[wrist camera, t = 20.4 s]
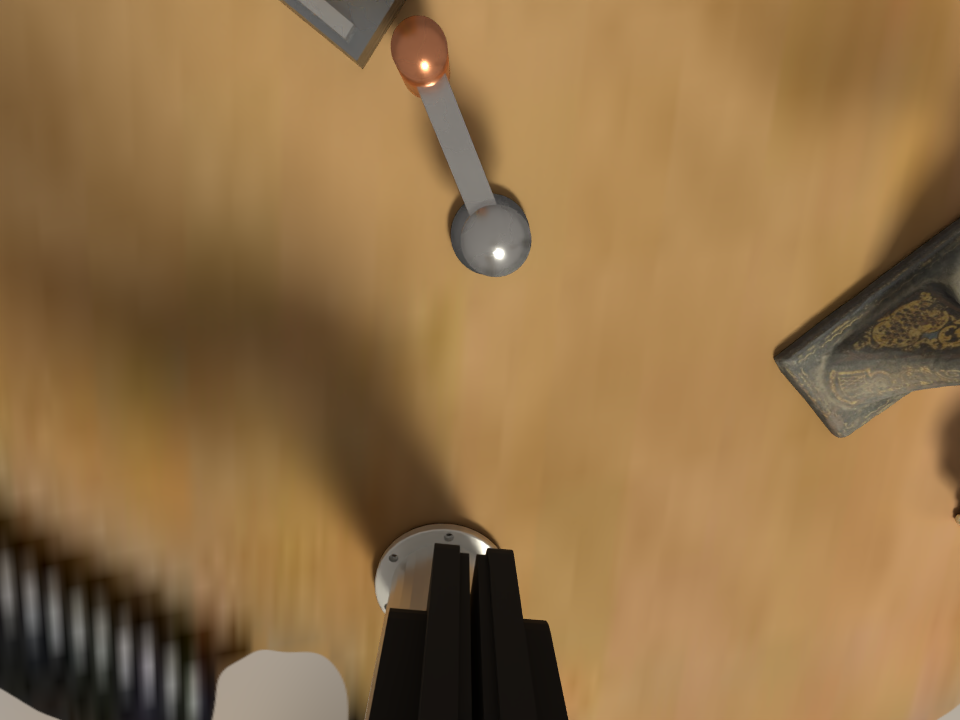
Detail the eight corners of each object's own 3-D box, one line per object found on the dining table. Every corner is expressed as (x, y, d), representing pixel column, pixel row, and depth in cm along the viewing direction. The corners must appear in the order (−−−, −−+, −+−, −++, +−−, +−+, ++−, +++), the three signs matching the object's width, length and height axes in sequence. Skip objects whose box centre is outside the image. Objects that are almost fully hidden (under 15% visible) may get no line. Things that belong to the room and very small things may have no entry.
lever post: (544, 227, 38) (557, 230, 33) (496, 289, 40) (501, 301, 34) (482, 176, 37) (485, 171, 32) (435, 242, 39) (431, 247, 33)
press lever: (448, 31, 31) (445, -1, 26) (534, 255, 35) (545, 262, 30) (383, 62, 31) (369, 36, 26) (476, 280, 35) (477, 291, 30)
